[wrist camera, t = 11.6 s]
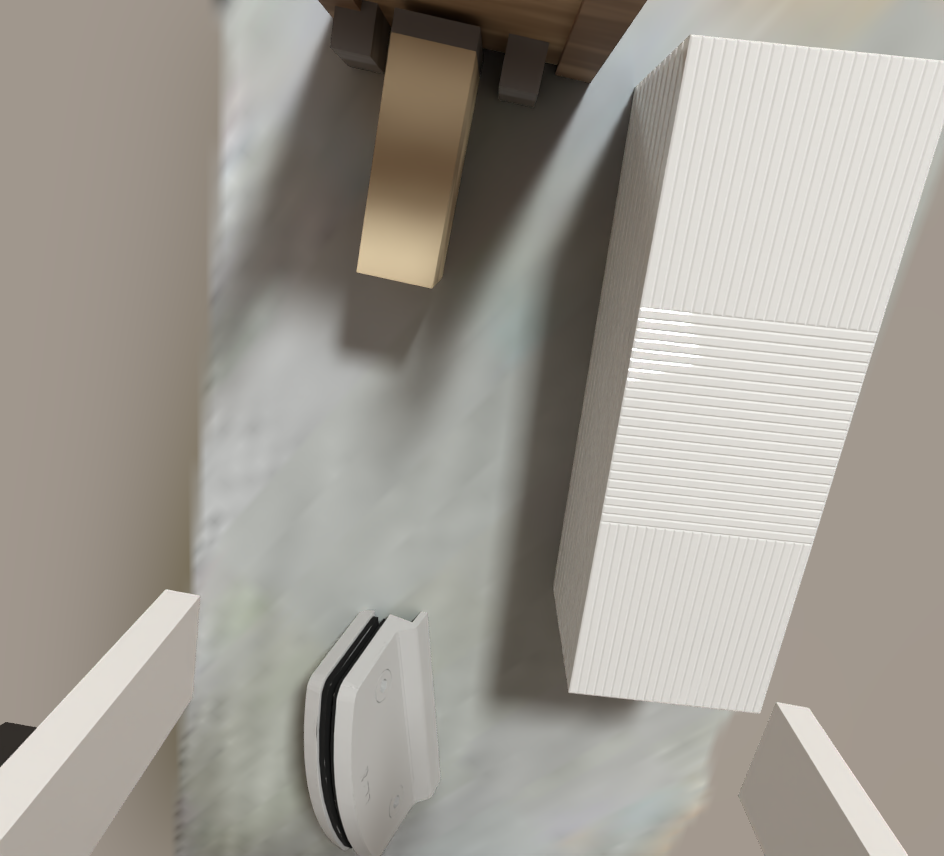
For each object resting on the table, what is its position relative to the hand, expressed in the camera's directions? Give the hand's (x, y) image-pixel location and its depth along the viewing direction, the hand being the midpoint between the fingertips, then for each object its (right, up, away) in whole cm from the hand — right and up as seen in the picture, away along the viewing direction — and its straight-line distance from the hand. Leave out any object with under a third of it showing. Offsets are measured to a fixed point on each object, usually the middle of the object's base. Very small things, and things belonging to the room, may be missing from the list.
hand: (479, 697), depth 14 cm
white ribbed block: (+12, +9, +26) cm, 30 cm away
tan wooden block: (-3, +21, +22) cm, 31 cm away
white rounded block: (-7, -15, +35) cm, 38 cm away
